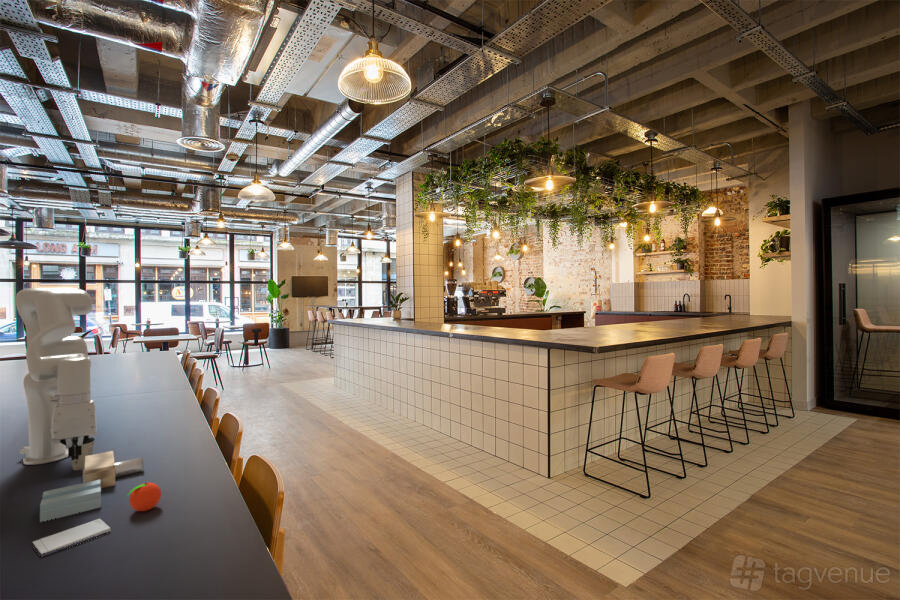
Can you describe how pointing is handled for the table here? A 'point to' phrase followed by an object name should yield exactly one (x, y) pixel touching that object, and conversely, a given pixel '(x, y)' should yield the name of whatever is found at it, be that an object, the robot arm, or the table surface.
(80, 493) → the v block
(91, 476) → the beam
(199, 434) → the table surface
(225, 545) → the table surface
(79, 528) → the hard drive
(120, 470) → the axle
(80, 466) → the coffee cup
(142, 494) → the clementine
